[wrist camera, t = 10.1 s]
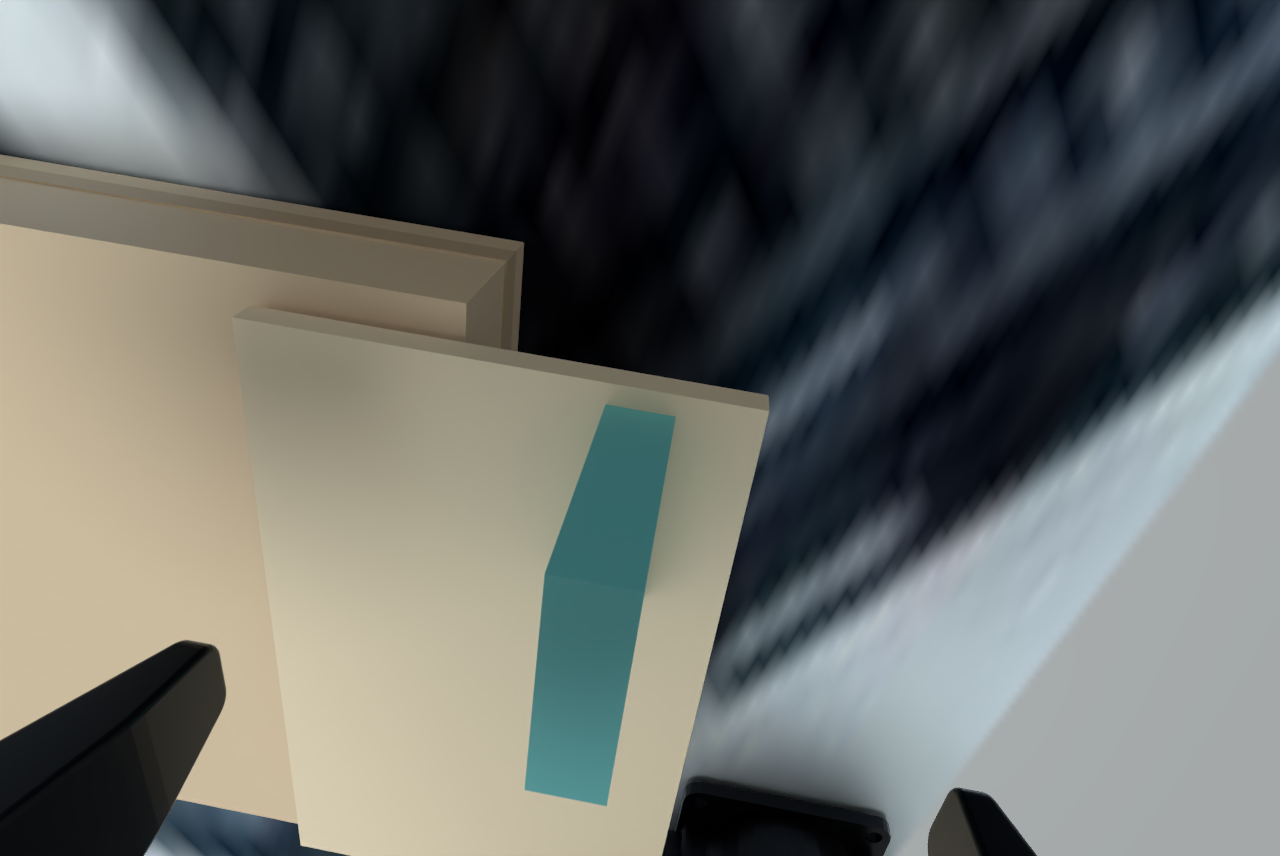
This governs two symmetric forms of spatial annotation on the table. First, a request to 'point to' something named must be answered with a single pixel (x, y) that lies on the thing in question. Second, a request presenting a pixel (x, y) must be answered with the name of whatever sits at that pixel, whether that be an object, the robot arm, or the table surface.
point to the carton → (176, 427)
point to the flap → (487, 584)
